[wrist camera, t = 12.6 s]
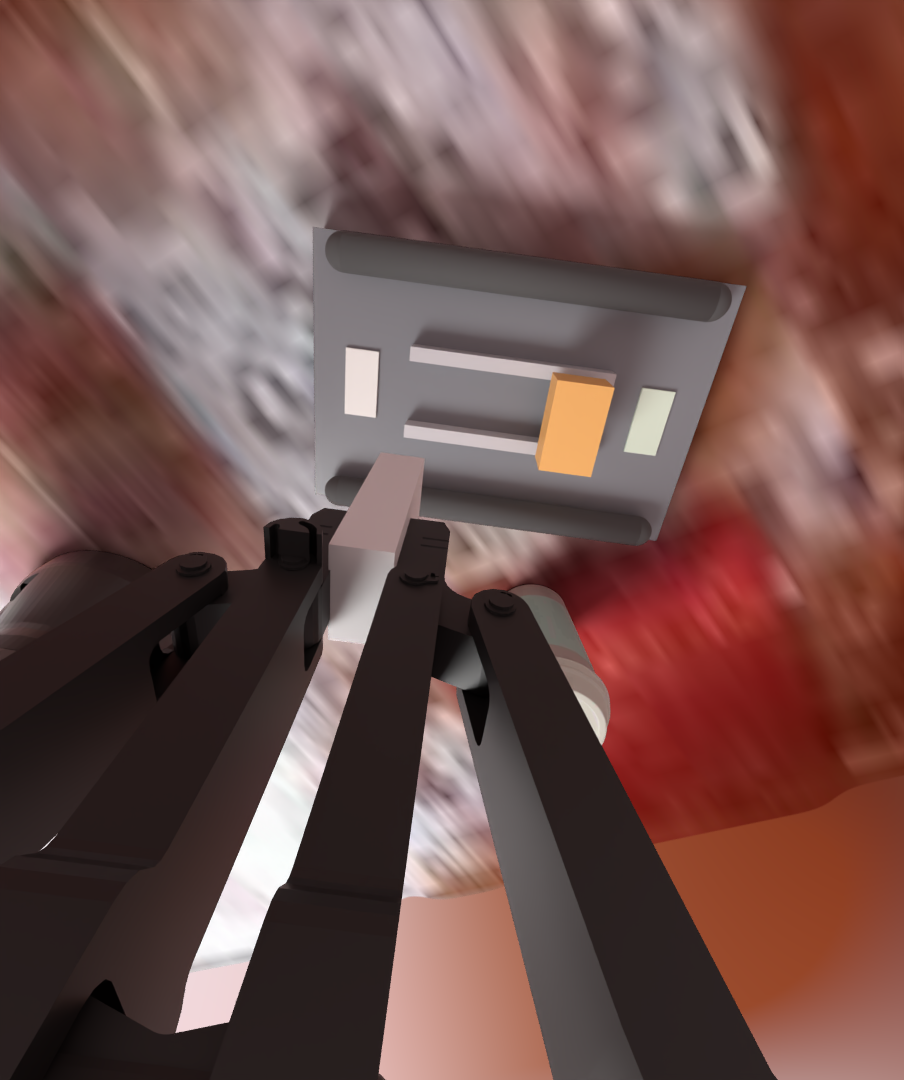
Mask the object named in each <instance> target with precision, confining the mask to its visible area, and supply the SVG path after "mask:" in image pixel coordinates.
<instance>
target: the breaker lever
mask: <svg viewBox="0 0 904 1080" xmlns="http://www.w3.org/2000/svg"><path fill="white" fill-rule="evenodd" d="M614 389H615V388H614V387H613V386H612V385H611V384H610V383H609V382H608V381H607V380H606V379H600V378H593V377H586V376H578V375H571V374H564V373H556V372H552V377H551V382H550V387H549V391H548V396H547V401H546V406H545V411H544V416H543V420H542V425H541V430H540V435H539V440H538V445H537V450H536V454H535V458H536V462H537V466H538V470H541V471H549V472H556V473H563V474H571V475H578V476H586V477H591V475H592V471H593V467H594V464H595V460H596V456H597V452H598V449H599V445H600V441H601V437H602V434H603V430H604V426H605V422H606V419H607V415H608V411H609V407H610V404H611V400H612V396H613V392H614Z"/></svg>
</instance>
